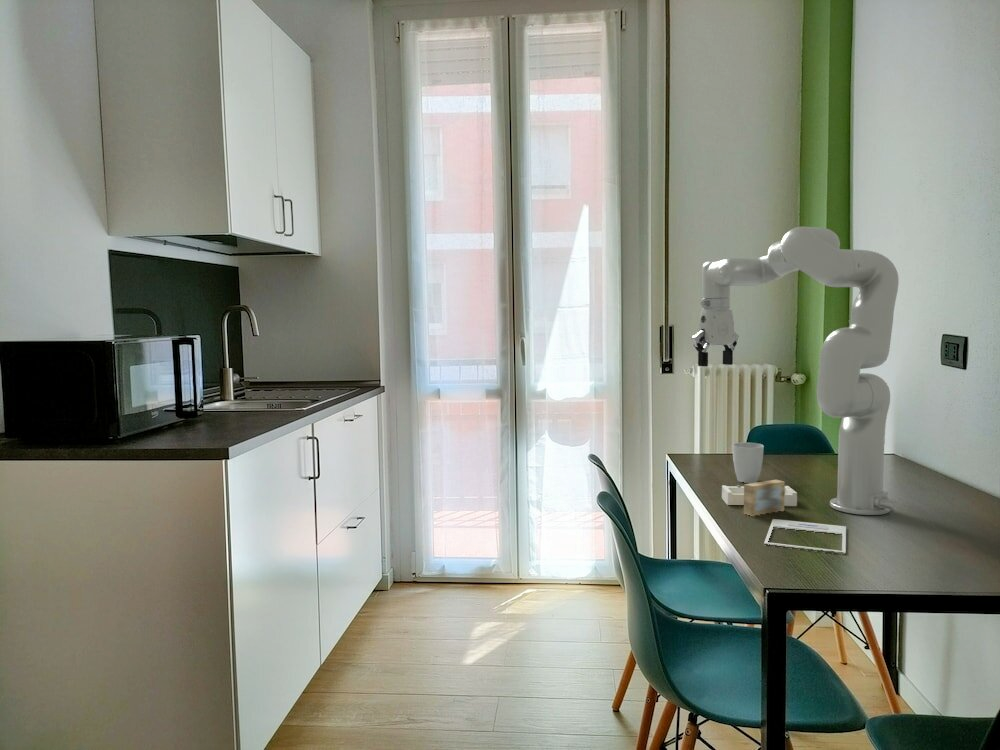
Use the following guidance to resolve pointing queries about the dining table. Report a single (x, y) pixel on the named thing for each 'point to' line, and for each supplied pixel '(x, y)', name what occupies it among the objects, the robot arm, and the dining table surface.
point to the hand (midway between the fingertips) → (715, 365)
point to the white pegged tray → (736, 495)
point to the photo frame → (807, 527)
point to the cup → (747, 461)
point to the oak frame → (764, 497)
